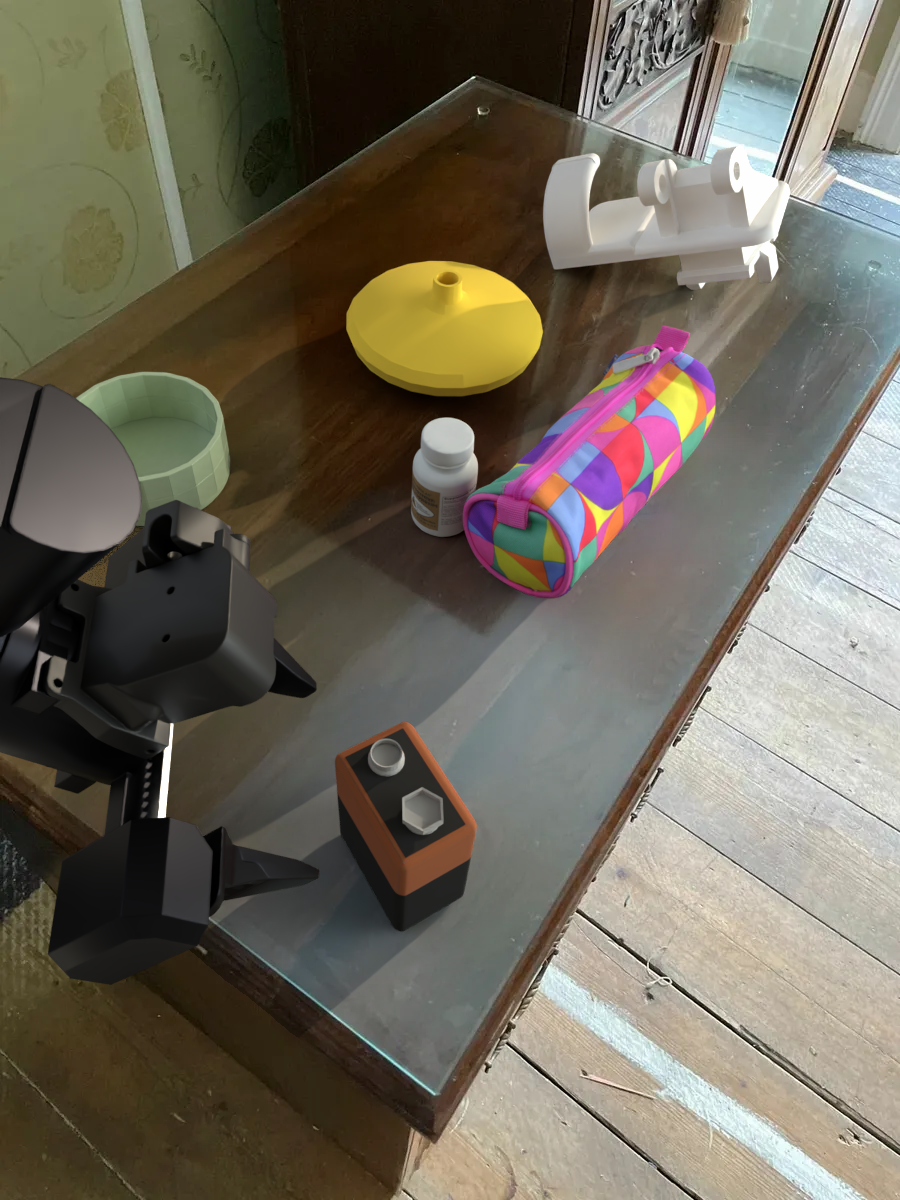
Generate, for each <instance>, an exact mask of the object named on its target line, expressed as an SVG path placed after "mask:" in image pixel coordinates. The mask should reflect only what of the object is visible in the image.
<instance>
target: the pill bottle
mask: <svg viewBox="0 0 900 1200" xmlns="http://www.w3.org/2000/svg"><path fill="white" fill-rule="evenodd" d="M474 433H475V432H474V431H473V429H472V428H471V426H470V425H469V424H467V423H466V422H464V421H462V420H461V419H458V418H454V417H439V418H435V419H433V420H431V421H429V422H427V423H426V424H425V425H424V427H423V428H422V431H421V436H420V448H419V449H418V450H417V451H416V453H415V455H414V457H413V461H412V474H411V478H412V479H411V501H410V502H411V503H410V513H411V518H412V521H413V522H414V524H415V525H416V526H417V527H418V529H420V530H421V532H422V531H423V532H424V533H426V534H428V535H431V536H434V537H440V538H444V537H452V536H456V535H459V534H460V533H462V532H463V531H465V530H464V526H463V509H464V505H465V502H466V500H467V498H468V497H469V496H470V495H471V494H472V493H473V492H475V491H476V490H477V483H478V474H479V463H478V458H477V456H476V455H475V453H474V450H475V434H474Z"/></svg>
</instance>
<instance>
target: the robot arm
mask: <svg viewBox="0 0 900 1200" xmlns="http://www.w3.org/2000/svg"><path fill="white" fill-rule="evenodd" d="M76 398H77V397H76V396H75V397H74V396H73V395H72V394H71V393H69V392H67V391H65V390H63V389H61V388H60V387H57V386H56V385H53V384H51V383H46V384H44V385H40V384H36V383H33V382H30V381H27V380H23V379H19V378H11V377H10V378H9V377H0V753H1V754H4V755H8V756H11V757H14V758H18V759H20V760H24V761H27V762H29V763H33V764H37V765H39V766H40V765H41V766H43V767H46V768H49V769H50V768H51V769H54V770H56V774H55V780H54V786H53V788H56V789H59V790H63V791H67V792H69V793H74V794H77V795H79V794H81V793H82V792H83V791H85V790H87V789H88V788H89V787H91V786H92V785H94V784H96V783H99V784H103V785H107V786H110V787H109V795H108V802H107V809H106V818H105V824H104V825H105V826H104V833H103V835H102V836H101V837H100V838H99V837H98V839H96V840H94V841H93V842H91V843H89V844H87V845H86V846H84V847H82V848H80V849H79V850H78V851H76V852H74V853H72V854H70V855H69V856H67V857H65V858H64V859H62V860H61V866H60V870H59V878H58V884H57V890H56V897H55V904H54V911H53V916H52V923H51V929H50V936H49V937H50V938H49V943H48V948H47V956H48V957H49V958H50V959H51V960H52V961H53V962H54V963H55V964H56V965H57V966H58V967H59V968H60V970H62V972H63V973H64V974H65V975H66V976H67V977H68V978H69V979H71V980H77V981H82V982H83V981H85V982H91V983H97V984H102V985H103V984H104V985H109V986H110V985H111V986H113V985H114V984H116V983H118V982H120V981H123V980H125V979H128V978H129V977H132V976H134V975H136V974H138V973H141V972H143V971H145V970H148V969H150V968H152V967H154V966H157V965H159V964H161V963H163V962H166V961H167V960H169V959H171V958H175V957H176V956H178V955H180V954H182V953H183V954H184V953H185V952H187V951H190V950H192V949H194V948H196V947H198V946H199V944H200V942H201V940H202V938H203V936H204V934H205V933H206V930H207V928H208V927H209V924H210V917H213V916H214V915H215V914H216V913H217V912H218V910H219V909H220V908H221V906H222V905H223V902H225V901H231V900H235V899H241V898H245V897H246V898H247V897H251V896H256V895H261V894H266V893H271V892H277V891H282V890H286V889H287V890H288V889H293V888H297V887H302V886H305V885H308V884H310V883H312V882H315V881H317V880H319V878H320V870H319V868H317V867H316V866H313V865H311V864H309V863H307V862H305V861H302V860H299V859H296V858H292V857H288V856H283V855H280V854H275V853H271V852H267V851H262V850H258V849H254V848H249V847H245V846H240V845H237V844H234V843H233V841H232V839H231V836H230V835H229V833H228V830H227V828H226V827H225V826H224V825H221V826H219V827H216V829H213V830H212V831H210V832H208V833H206V834H202V832H201V830H200V829H199V827H198V826H197V824H195V823H191V822H188V821H185V820H181V819H178V818H175V817H172V816H167V815H166V814H167V802H168V791H169V781H170V771H171V769H170V768H171V761H172V760H171V759H172V750H173V749H172V748H173V737H174V736H173V735H174V725H175V724H176V723H180V722H184V721H188V720H190V719H193V718H197V717H200V716H204V715H207V714H210V713H213V712H217V711H220V710H223V709H227V708H230V707H238V708H239V707H240V708H241V707H244V706H248V705H251V704H254V703H256V702H257V701H259V700H260V699H262V698H264V696H265V695H266V694H267V693H271V694H276V695H280V696H281V695H282V696H286V697H292V698H298V699H306V698H307V697H309V696H311V695H313V694H314V693H316V692H317V689H318V686H317V685H318V684H317V681H316V680H315V679H314V678H313V677H312V676H311V675H310V673H308V672H307V671H306V669H304V668H303V666H302V665H301V664H300V663H299V662H298V661H297V660H296V659H295V658H294V657H293V656H292V655H291V654H290V653H289V652H288V651H287V650H286V648H285V647H284V646H283V645H282V644H281V643H280V642H279V641H278V640H277V639H276V638H275V635H274V634H275V632H274V631H275V619H276V618H277V616H278V602H277V599H276V598H275V596H273V595H272V593H271V592H270V591H268V589H266V588H265V586H264V585H263V584H262V583H261V582H260V581H259V580H258V579H257V578H256V576H254V575H253V574H252V573H251V571H250V569H251V568H250V567H251V565H250V564H251V539H250V538H249V537H248V536H247V535H245V534H243V533H235V532H233V530H232V526H231V525H229V524H228V523H225V522H224V520H222V519H220V518H219V517H217V516H216V515H213V514H211V513H209V512H206V511H204V510H203V509H202V510H200V509H198V508H196V507H192V506H190V505H188V504H186V503H183V502H181V501H179V500H174V501H171V502H168V503H166V504H163V505H160V506H158V507H155V508H152V509H150V510H148V511H147V512H146V517H145V525H144V526H143V528H141V529H140V530H139V531H138V532H136V533H135V535H133V536H132V537H131V538H130V539H128V540H127V541H126V542H125V543H124V544H122V543H123V541H124V540H126V539H127V538H128V537H129V536H130V535H131V534H132V533H133V532H134V530H135V527H137V526H136V523H137V521H138V519H139V517H140V513H141V507H142V498H141V489H140V482H139V479H138V476H137V473H136V470H135V467H134V464H133V462H132V460H131V459H130V457H129V455H128V453H127V451H126V450H125V448H124V446H123V444H122V443H121V442H120V440H119V439H118V438H117V436H116V435H115V434H114V433H113V431H112V430H111V429H110V428H109V426H108V425H107V424H106V423H105V422H104V421H103V420H102V419H101V418H99V417H98V416H97V415H96V414H95V413H94V412H93V411H92V410H91V409H90V408H89V407H87V406H86V405H84V404H83V403H82V402H80V401H79V400H77V399H76ZM121 544H122V545H121ZM119 545H121V546H120V547H119V548H117V547H118V546H119ZM116 548H117V550H116V551H114V549H116ZM112 551H114V552H113V553H112V554H110V553H111V552H112ZM109 554H110V555H109ZM107 555H109V557H108V559H107V567H106V574H105V580H104V586H98V585H93V584H89V583H87V582H85V581H83V580H81V579H80V578H81V577H82V576H83V575H85V574H86V573H87V572H88V571H89V570H91V569H92V568H94V566H95V565H97V564H98V563H100V561H101V560H103V559H104V558H105V557H106V556H107Z"/></svg>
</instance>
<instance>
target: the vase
mask: <svg viewBox="0 0 900 1200" xmlns="http://www.w3.org/2000/svg"><path fill="white" fill-rule="evenodd" d="M346 332H347V334H348V337H349V339H350V342H351V343H352V346H353V349H354V351H355V354H356V356H357V357H358V359H360V361H361V362H362V363H363V364H364V365H365V366H366V368H367V369H368V370H369V371H370V372H371V373H373V374H375V375H376V376H378V377H379V378H380V379H382V380H384V381H385V382H387V383H389V384H391V385H394V386H395V387H399V388H402V389H404V390H406V391H409V392H413V393H417V394H423V395H428V396H433V397H466V396H471V395H478V394H483V393H487V392H491V391H492V390H495V389H497V388H500V387H502V386H505V385H507V384H509V383H510V382H512V381H513V380H514V379H516V378H517V377H518V376H519V375H521V374H522V373H524V371H525V370H526V369H527V367H528V366H529V365H530V363H531V362H532V360H533V359H534V357H535V355H537V352H538V351H539V349H540V346H541V343H542V339H543V333H544V330H543V324H542V319H541V315H540V313H539V312H538V310H537V308H536V307H535V305H534V304H533V302H532V301H531V299H530V298H529V296H528V295H527V294H526V293H525V292H523V291H522V290H521V289H520V288H519V287H518V286H517V285H516V284H515V283H514V282H512V281H511V280H509V279H507V278H506V277H503V276H502V275H500V274H498V273H497V272H494V271H492V270H489V269H486V268H483V267H480V266H478V265H475V264H470V263H465V262H464V263H463V262H458V261H453V260H452V261H451V260H450V261H449V260H427V261H420V262H412V263H406V264H403V265H401V266H398V267H395V268H391V269H388V270H385V272H383V273H382V274H380V275H377V276H376V277H374V278H372V279H371V280H370V281H369V282H368V283H367V284H366V285H365V286H363V288H362V289H361V290H360V291H359V292H358V293H357V294H355V296H354V297H353V298H352V300H351V303H350V305H349V308H348V310H347V311H346Z"/></svg>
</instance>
